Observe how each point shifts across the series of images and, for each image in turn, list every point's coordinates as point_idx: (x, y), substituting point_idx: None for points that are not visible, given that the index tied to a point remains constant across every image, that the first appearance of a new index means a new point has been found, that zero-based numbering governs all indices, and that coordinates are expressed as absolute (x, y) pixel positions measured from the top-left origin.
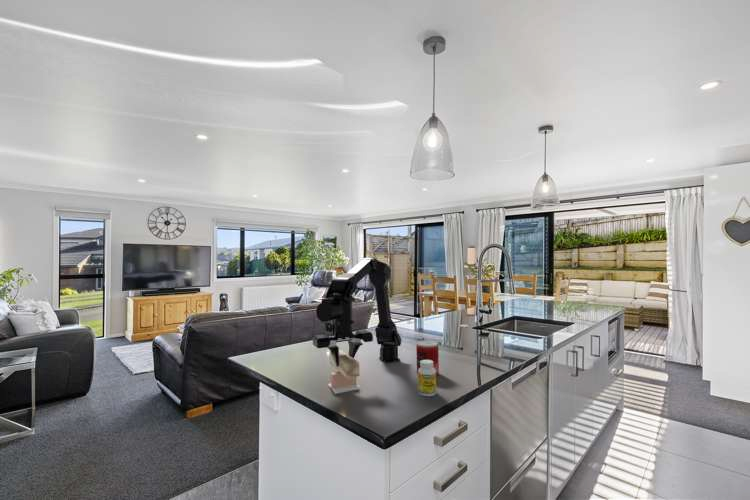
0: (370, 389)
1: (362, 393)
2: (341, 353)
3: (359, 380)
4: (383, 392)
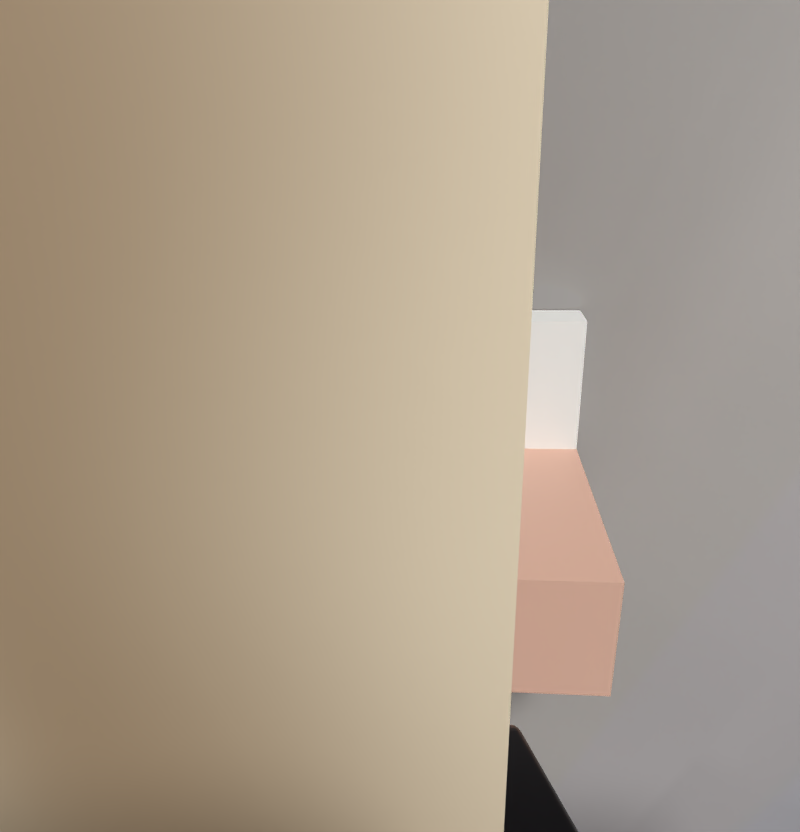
0: (679, 678)
1: (523, 726)
2: (287, 686)
3: (745, 308)
4: (761, 805)
